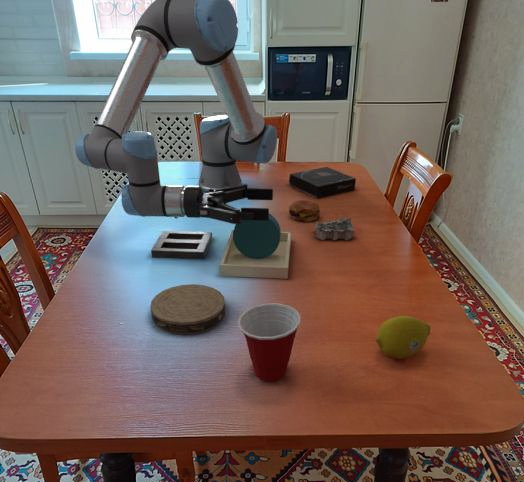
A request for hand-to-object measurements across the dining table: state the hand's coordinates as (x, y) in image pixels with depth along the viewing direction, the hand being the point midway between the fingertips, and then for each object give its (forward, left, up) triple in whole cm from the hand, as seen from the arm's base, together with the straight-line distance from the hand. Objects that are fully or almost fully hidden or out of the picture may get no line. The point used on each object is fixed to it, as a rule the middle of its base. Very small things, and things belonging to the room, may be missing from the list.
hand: (270, 204), depth 120 cm
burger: (-31, 0, -15) cm, 34 cm away
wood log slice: (+32, -8, -15) cm, 36 cm away
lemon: (+31, +37, -15) cm, 51 cm away
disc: (+1, -3, -8) cm, 9 cm away
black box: (-60, -2, -15) cm, 62 cm away
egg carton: (-20, +12, -15) cm, 28 cm away
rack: (+2, -25, -15) cm, 29 cm away
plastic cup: (+45, +15, -15) cm, 50 cm away
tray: (+1, -3, -15) cm, 15 cm away
